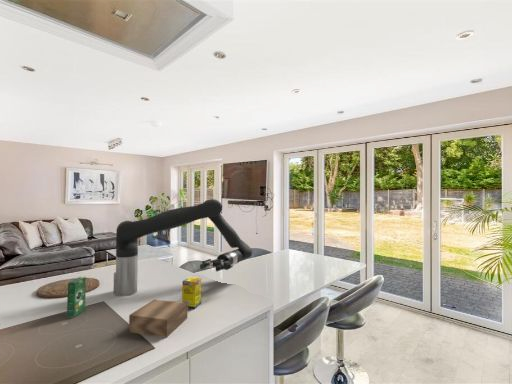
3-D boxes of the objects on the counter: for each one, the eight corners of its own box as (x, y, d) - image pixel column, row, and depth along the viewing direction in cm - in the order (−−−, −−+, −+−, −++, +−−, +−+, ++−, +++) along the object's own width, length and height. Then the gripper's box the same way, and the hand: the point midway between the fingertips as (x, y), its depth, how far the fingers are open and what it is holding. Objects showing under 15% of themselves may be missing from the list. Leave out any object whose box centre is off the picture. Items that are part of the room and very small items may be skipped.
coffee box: (78, 309, 108) (78, 276, 108) (85, 308, 108) (86, 275, 108) (66, 318, 100) (66, 282, 100) (74, 318, 100) (75, 282, 100)
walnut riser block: (129, 333, 90) (129, 315, 90) (153, 315, 104) (154, 299, 104) (166, 338, 87) (167, 319, 87) (187, 319, 101) (187, 303, 101)
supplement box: (195, 309, 109) (195, 281, 109) (181, 307, 110) (181, 280, 110) (201, 303, 115) (201, 277, 115) (188, 302, 116) (188, 276, 116)
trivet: (97, 293, 126) (97, 289, 126) (28, 302, 115) (29, 298, 115) (101, 278, 148) (101, 275, 148) (44, 285, 137) (44, 281, 137)
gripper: (215, 251, 141) (195, 258, 126) (239, 253, 134) (221, 261, 120) (215, 265, 141) (195, 274, 126) (239, 269, 134) (221, 278, 120)
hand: (208, 268), depth 123 cm, fingers open, 8 cm apart
